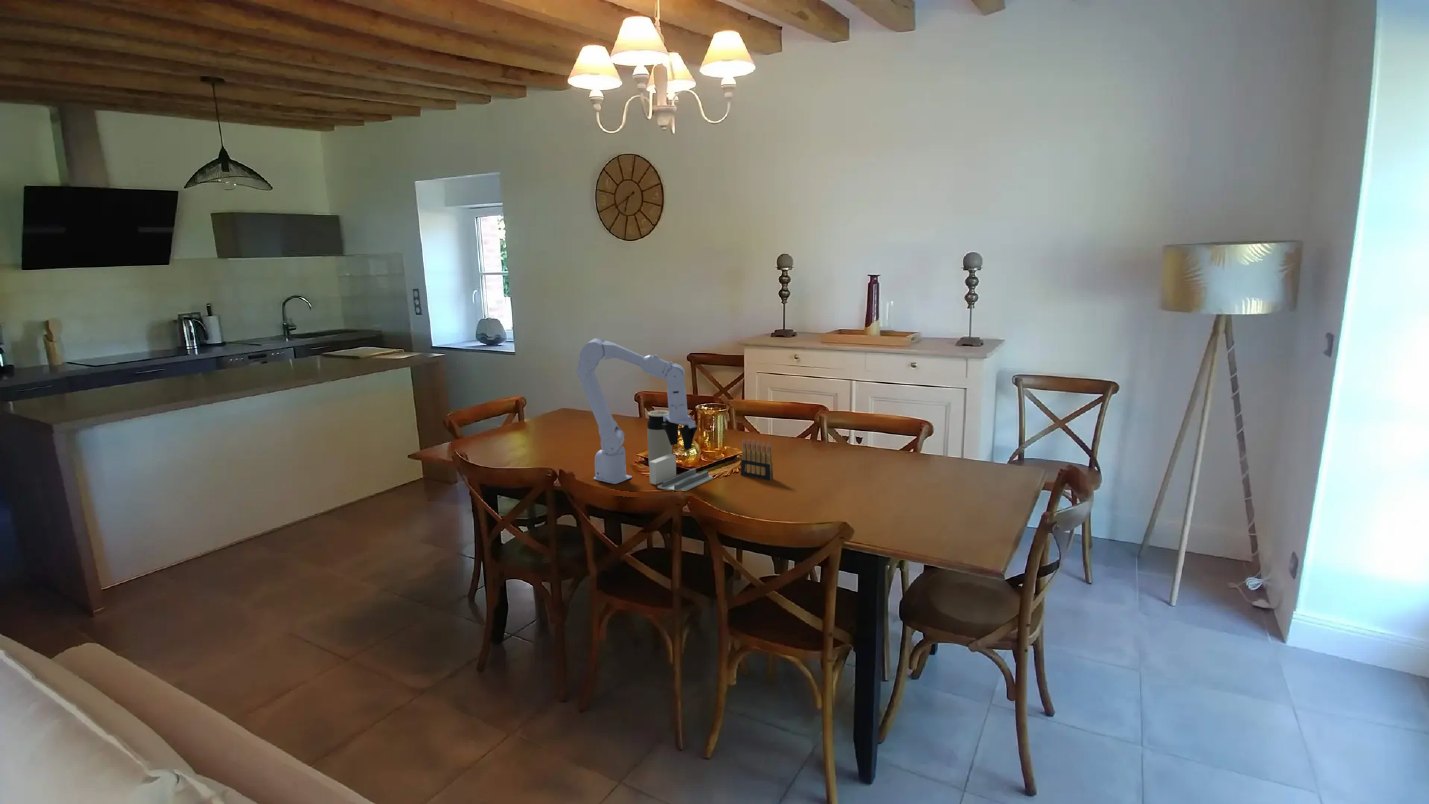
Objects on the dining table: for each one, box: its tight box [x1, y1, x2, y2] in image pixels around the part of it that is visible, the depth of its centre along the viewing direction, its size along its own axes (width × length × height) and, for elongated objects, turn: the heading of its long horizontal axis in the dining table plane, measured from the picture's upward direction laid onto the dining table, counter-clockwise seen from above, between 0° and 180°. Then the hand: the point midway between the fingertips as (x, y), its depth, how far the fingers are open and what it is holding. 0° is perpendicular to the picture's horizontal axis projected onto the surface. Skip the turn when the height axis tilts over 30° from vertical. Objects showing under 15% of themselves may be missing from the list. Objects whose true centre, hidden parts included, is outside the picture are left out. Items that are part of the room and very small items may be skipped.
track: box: [657, 468, 714, 492], centre depth 223 cm, size 9×16×2 cm, turn 145°
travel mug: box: [646, 409, 673, 463], centre depth 239 cm, size 8×8×18 cm
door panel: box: [648, 453, 677, 486], centre depth 226 cm, size 2×10×7 cm, turn 145°
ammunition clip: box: [740, 437, 774, 481], centre depth 227 cm, size 11×2×12 cm, turn 56°
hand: (680, 446), depth 225 cm, fingers open, 7 cm apart
